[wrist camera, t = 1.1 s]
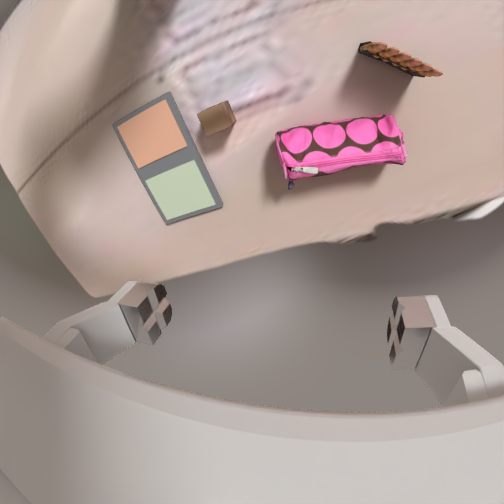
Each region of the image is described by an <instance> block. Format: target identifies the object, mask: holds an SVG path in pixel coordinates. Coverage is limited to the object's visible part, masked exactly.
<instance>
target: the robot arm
mask: <svg viewBox="0 0 504 504" xmlns="http://www.w3.org/2000/svg"><path fill="white" fill-rule="evenodd" d="M166 295H167V292H166V289H165V287H164V286H163V285H162V284H158V283H150V282H142V281H141V282H140V281H133V280H132V281H128V282H127V283H126V284H125V285H124V286H123V287H122V288H121V289H120V290H119V291H118V292H117V293H115V294H114V295H113V296H112V297H111V298H110V300H108V301H107V302H102V303H100V304H98V305H96V306H93V307H91V308H89V309H86V310H84V311H82V312H80V313H78V314H75V315H73V316H70V317H68V318H66V319H64V320H61V321H59V322H58V323H57V324H56V325H55V326H54V327H53V328H52V329H51V330H50V331H49V332H48V333H47V334H46V335H45V336H44V337H43V338H40V337H38V336H36V335H34V334H32V333H30V332H29V331H27V330H25V329H23V328H21V327H19V326H18V325H16V324H14V323H12V322H10V321H9V320H7V319H6V318H4V317H2V316H0V504H504V367H503V365H502V363H500V362H499V361H498V360H497V359H495V358H494V357H493V356H491V354H489V353H488V352H487V351H486V350H484V349H483V348H482V347H481V346H479V345H478V344H477V343H475V342H474V341H473V340H472V339H470V338H469V337H468V336H466V335H465V334H464V333H463V332H461V331H460V330H459V329H457V328H456V327H451V326H450V323H449V320H448V318H447V316H446V313H445V311H444V309H443V307H442V304H441V302H440V300H439V298H438V296H436V295H425V296H395V297H394V300H393V303H392V310H393V314H392V315H391V316H390V317H389V321H388V327H387V342H388V345H389V346H390V347H391V351H390V354H389V356H390V364H391V370H415V371H416V373H417V374H418V375H419V376H420V378H421V379H422V380H423V382H424V383H425V384H426V385H427V387H428V388H429V389H430V390H431V392H432V393H433V394H434V396H435V397H436V398H437V400H438V401H439V402H440V403H441V405H442V407H438V408H430V409H419V410H407V411H390V412H329V411H313V410H300V409H288V408H279V407H271V406H264V405H257V404H250V403H244V402H238V401H232V400H227V399H221V398H216V397H211V396H207V395H202V394H198V393H193V392H189V391H185V390H181V389H177V388H173V387H169V386H166V385H163V384H159V383H156V382H152V381H149V380H146V379H142V378H139V377H136V376H132V375H130V374H127V373H124V372H121V371H118V370H115V369H113V368H110V367H107V366H104V365H103V364H105V363H106V362H108V361H109V360H111V359H112V358H114V357H115V356H117V355H118V354H120V353H121V352H123V351H124V350H126V349H127V348H129V347H130V346H132V345H133V344H135V343H136V342H139V343H144V344H148V345H154V344H155V342H156V340H158V338H159V337H160V335H161V329H163V328H165V327H166V326H167V325H168V323H169V322H170V320H171V316H172V308H171V305H170V303H169V301H168V300H167V299H166V298H165V297H166Z"/></svg>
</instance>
